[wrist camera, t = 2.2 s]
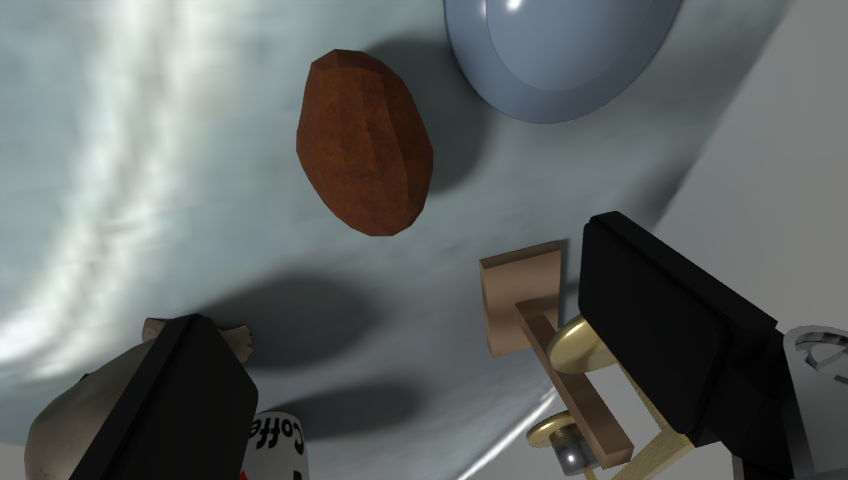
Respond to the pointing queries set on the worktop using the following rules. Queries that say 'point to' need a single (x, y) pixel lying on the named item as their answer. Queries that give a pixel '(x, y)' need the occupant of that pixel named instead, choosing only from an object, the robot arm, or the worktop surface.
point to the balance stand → (545, 339)
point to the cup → (275, 449)
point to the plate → (554, 51)
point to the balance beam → (576, 354)
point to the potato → (364, 143)
